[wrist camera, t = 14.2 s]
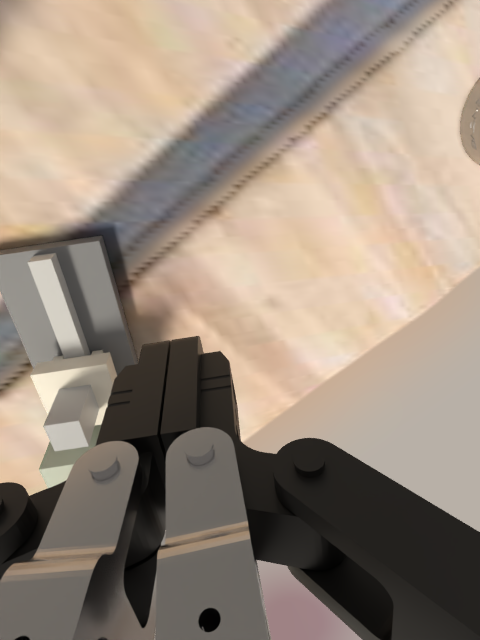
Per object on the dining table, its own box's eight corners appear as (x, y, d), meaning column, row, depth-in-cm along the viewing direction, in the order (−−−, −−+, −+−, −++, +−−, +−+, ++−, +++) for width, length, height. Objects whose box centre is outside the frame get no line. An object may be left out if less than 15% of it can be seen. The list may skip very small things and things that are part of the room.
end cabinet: (152, 400, 50) (145, 453, 43) (163, 439, 53) (158, 494, 46) (60, 414, 50) (38, 469, 43) (76, 452, 53) (58, 510, 46)
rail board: (102, 235, 41) (95, 246, 38) (148, 397, 50) (145, 415, 48) (-8, 251, 41) (-22, 263, 38) (59, 410, 50) (51, 429, 47)
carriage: (112, 343, 44) (95, 398, 37) (129, 398, 48) (117, 458, 40) (41, 354, 44) (10, 411, 37) (63, 408, 48) (39, 470, 40)
